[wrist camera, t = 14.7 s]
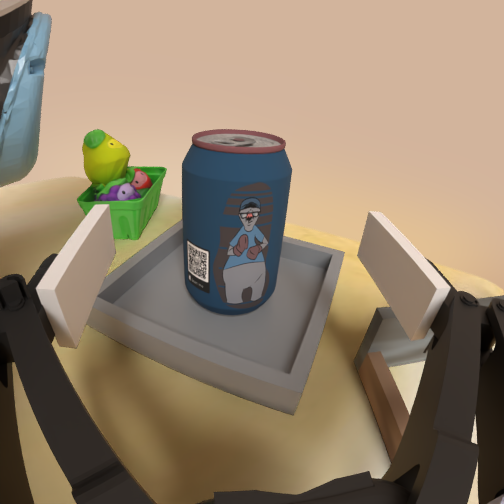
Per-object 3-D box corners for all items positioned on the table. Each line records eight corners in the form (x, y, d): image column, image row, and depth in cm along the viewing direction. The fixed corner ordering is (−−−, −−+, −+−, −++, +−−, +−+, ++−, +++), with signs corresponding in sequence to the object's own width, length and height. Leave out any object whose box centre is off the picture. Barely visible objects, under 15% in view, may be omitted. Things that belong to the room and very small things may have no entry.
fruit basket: (146, 247, 31) (138, 137, 25) (72, 243, 30) (57, 142, 25) (169, 203, 41) (168, 119, 35) (108, 201, 40) (102, 121, 34)
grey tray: (86, 324, 21) (78, 299, 20) (191, 234, 34) (191, 213, 33) (293, 415, 17) (302, 393, 15) (338, 274, 29) (344, 252, 28)
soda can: (227, 258, 29) (235, 124, 23) (290, 292, 25) (316, 142, 19) (167, 291, 24) (159, 135, 18) (233, 338, 21) (245, 156, 14)
